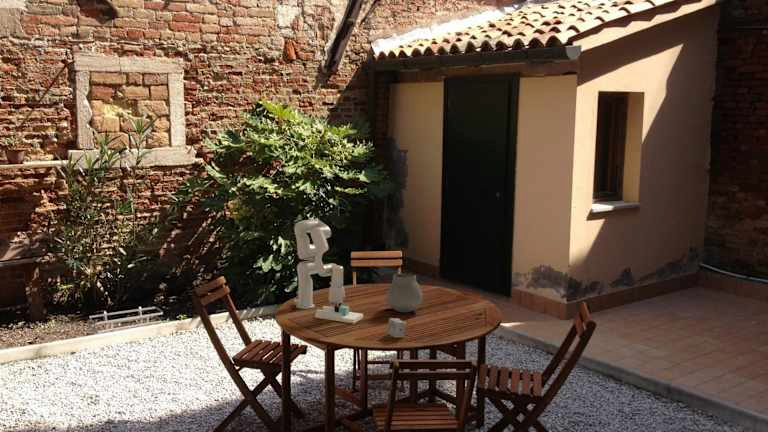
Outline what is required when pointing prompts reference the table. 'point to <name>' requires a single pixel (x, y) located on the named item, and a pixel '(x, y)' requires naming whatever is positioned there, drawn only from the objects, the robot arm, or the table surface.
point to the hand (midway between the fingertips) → (336, 312)
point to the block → (344, 310)
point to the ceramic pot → (404, 293)
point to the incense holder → (396, 328)
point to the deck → (337, 315)
